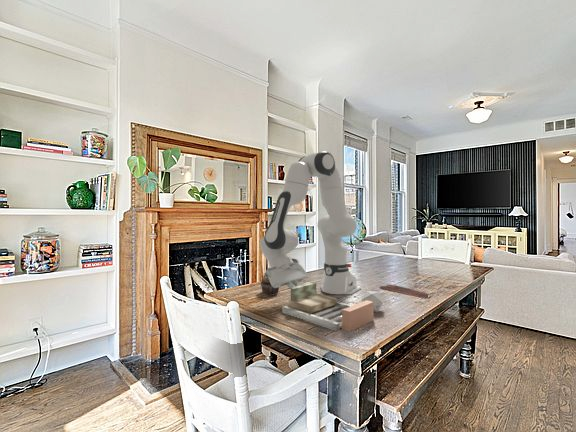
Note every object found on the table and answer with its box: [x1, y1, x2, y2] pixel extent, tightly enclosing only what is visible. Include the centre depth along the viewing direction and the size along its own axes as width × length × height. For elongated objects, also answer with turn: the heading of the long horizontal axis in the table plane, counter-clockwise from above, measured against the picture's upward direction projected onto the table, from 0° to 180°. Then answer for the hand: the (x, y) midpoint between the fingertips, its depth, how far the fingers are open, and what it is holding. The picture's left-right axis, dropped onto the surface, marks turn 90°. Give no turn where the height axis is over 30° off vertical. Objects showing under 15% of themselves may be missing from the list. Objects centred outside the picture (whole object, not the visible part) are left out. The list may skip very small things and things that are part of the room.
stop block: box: [341, 300, 374, 333], centre depth 115 cm, size 16×3×7 cm, turn 135°
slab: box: [288, 281, 337, 313], centre depth 130 cm, size 16×12×7 cm
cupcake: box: [260, 272, 280, 296], centre depth 158 cm, size 10×10×10 cm
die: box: [361, 290, 383, 313], centre depth 131 cm, size 8×9×10 cm
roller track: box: [281, 300, 353, 332], centre depth 126 cm, size 22×27×2 cm
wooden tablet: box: [379, 284, 430, 299], centre depth 161 cm, size 26×2×10 cm
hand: (297, 291), depth 137 cm, fingers closed
